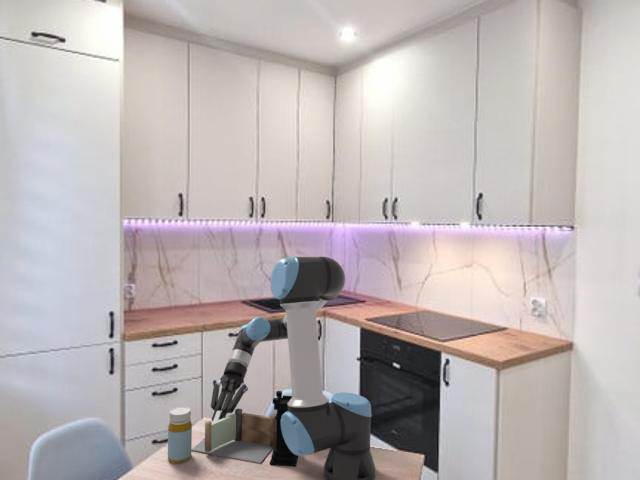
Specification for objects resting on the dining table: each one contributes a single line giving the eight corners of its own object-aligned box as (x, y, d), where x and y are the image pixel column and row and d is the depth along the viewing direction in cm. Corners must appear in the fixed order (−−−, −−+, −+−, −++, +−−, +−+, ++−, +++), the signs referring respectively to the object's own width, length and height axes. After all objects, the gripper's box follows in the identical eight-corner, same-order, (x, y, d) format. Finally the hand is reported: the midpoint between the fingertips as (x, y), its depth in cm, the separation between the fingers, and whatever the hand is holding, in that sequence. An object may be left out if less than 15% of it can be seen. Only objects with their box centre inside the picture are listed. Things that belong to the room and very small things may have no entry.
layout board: (279, 439, 151) (279, 438, 151) (260, 463, 136) (260, 462, 136) (216, 429, 158) (216, 427, 158) (191, 450, 142) (191, 449, 142)
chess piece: (299, 453, 142) (300, 391, 142) (295, 466, 134) (297, 401, 134) (274, 451, 143) (276, 390, 142) (269, 464, 135) (270, 400, 134)
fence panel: (232, 437, 149) (233, 410, 149) (236, 439, 148) (237, 412, 148) (203, 450, 140) (203, 422, 140) (207, 452, 139) (207, 424, 138)
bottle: (191, 451, 142) (191, 405, 141) (191, 462, 135) (192, 414, 135) (167, 454, 140) (168, 407, 139) (167, 465, 133) (168, 416, 133)
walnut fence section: (278, 444, 147) (278, 414, 147) (275, 447, 145) (276, 417, 144) (236, 437, 151) (237, 408, 151) (233, 440, 149) (233, 410, 149)
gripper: (257, 372, 160) (235, 439, 144) (224, 368, 163) (199, 433, 148) (251, 362, 154) (227, 431, 139) (217, 358, 158) (191, 424, 143)
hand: (213, 432), depth 144 cm, fingers closed
